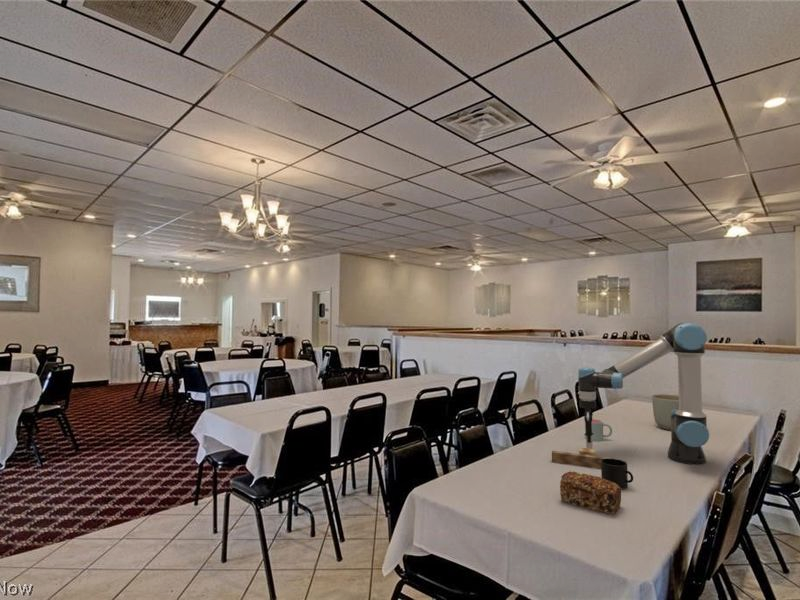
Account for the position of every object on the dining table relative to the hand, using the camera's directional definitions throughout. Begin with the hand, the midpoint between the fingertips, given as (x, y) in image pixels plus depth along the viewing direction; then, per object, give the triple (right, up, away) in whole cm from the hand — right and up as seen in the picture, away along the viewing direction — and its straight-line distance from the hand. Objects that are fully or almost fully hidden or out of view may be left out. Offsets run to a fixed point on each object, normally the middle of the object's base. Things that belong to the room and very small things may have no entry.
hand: (589, 448), depth 210 cm
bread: (-24, -2, -55) cm, 59 cm away
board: (-9, -3, -14) cm, 17 cm away
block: (-6, -3, -10) cm, 12 cm away
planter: (+73, -6, +51) cm, 89 cm away
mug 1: (+17, -5, +28) cm, 33 cm away
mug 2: (-5, -2, -38) cm, 38 cm away
